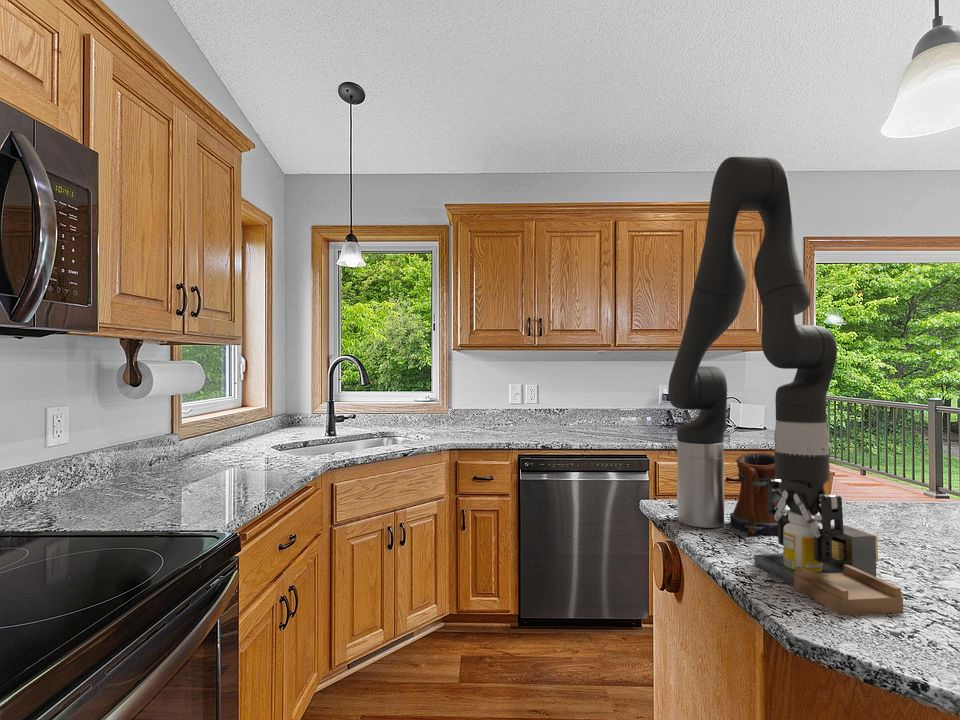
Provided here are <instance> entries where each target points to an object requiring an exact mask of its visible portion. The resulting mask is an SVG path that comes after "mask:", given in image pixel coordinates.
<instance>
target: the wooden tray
mask: <svg viewBox="0 0 960 720" xmlns="http://www.w3.org/2000/svg"><path fill="white" fill-rule="evenodd" d="M793 588H794V590H796V591H797V592H799V593H801V594H802V595H805V596H806V597H808V598H810V599H812V600H813V601H815V602H816V603H818V604H820V605H821V606H823V607H825V608H827V609H829V610H830V611H832V612H834V613H836V614H837V615H838V616H842V617H843V616H857V615H858V616H859V615H874V614H875V615H876V614H878V615H879V614H893V613H894V614H896V613H904V597H903V596H902V594H901V593H902V592H901V591H902V590H901V589H902V588H901V587H899V586H897V585H894V584H893V583H890V582H888V581H886V580H884V579H881V578H879V577H877V576H876V577H875V576H873V575H870V574H868V573H866V572H864V571H861V570H859V569H857V568H855V567H852V566H850V565H843V573H831V574H815V573H813V572H811V571H809V570H807V569H805V568H803V567H796V575H794V586H793Z"/></svg>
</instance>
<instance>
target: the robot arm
mask: <svg viewBox="0 0 960 720" xmlns="http://www.w3.org/2000/svg"><path fill="white" fill-rule="evenodd" d="M790 192H791V191H790V185H789V178H788V175H787V171H786V168H785V166H784V164H783V163H782V162H781V161H780V160H779V159H777V158H773V157H765V156H760V157H758V156H756V157H755V156H729V157H727V158H725V159H724V160H722V162H721V163H720V165H719V166H718V168H717V170H716V173H715V174H714V177H713V182H712V187H711V192H710V198H709V207H708V213H707V215H708V216H707V221H706V229H705V235H704V241H703V247H702V251H701V256H700V260H699V265H698V269H697V273H696V277H695V281H694V284H693V288H692V292H691V297H690V301H689V302H690V303H689V309H688V314H687V318H686V322H685V326H684V331H683V335H682V338H681V342H680V345H679V348H678V352H677V354H676V356H675V360H674V363H673V366H672V368H671V369H672V370H671V373H670V376H669V381H668V386H667V387H668V389H667V392H668V393H667V395H668V401H669V402H670V405H672V407H674V408H675V409H678V410H699V414H698V416H697V417H696V418H694V419H693V420H692V421H690V422H688V423H685V424H683V425H680V426H679V427H678V428H677V431H676V439H677V440H676V441H677V442H676V446H677V447H676V454H677V457H676V459H677V460H676V461H677V471H676V472H677V474H676V495H677V496H676V501H677V502H676V503H677V504H676V509H677V513H676V514H677V515H676V516H677V521H678V522H679V523H681V524H683V525H686V526H690V527H695V528H703V529H705V528H707V529H709V528H710V529H711V528H713V529H715V528H720V527H723V526H725V461H724V458H725V456H724V455H725V454H724V435H725V433H726V432H725V431H726V426H727V407H728V405H727V404H728V403H727V402H728V384H727V379H726V378H727V377H726V376H725V373H724V372H723V370H722V369H721V368H719V367H718V366H704V365H703V366H700V365H701V362H702V360H703V358H704V356H705V354H706V352H708V350H709V348H710V347H711V346H712V345H713V344H714V343H715V341H717V340H718V339H719V338H720V337H721V336H722V335H723V334H724V333H725V332H726V331H727V330H728V329H729V327H731V325H732V324H733V323H734V321H735V320H736V319H737V317H738V315H739V313H740V310H741V305H742V303H743V300H744V299H743V298H744V296H745V292H746V287H747V277H746V273H745V269H744V266H743V264H742V261H741V259H740V258H741V257H740V256H739V253H738V250H737V248H736V243H735V242H736V241H735V230H736V223H737V219H738V216H739V215H738V214H739V211H741V212H744V211H745V212H758V213H759V215H760V218H761V220H762V223H763V228H764V229H763V231H764V232H763V237H762V241H761V244H760V246H759V249H758V252H757V255H756V258H755V261H754V266H753V268H754V269H753V273H754V281H755V285H756V288H757V292H758V296H759V299H760V304H761V306H762V318H761V319H762V321H761V323H762V324H761V348H762V349H761V350H762V352H763V355H764V357H765V359H766V360H767V361H768V362H769V363H770V364H771V365H772V366H773V367H775V368H778V369H783V370H785V369H786V370H787V369H789V370H790V369H791V370H792V369H793V370H795V369H796V372H795V374H794V378H793V381H791V382H789V383H786V384H783V385H780V386H779V387H777V389H776V391H775V428H774V436H773V437H774V439H773V442H774V455H775V476H776V477H777V478H779V479H781V480H779V479H774V480H768V513H769V514H770V515H773V516H774V518H775V520H776V521H777V527H778V535H777V542H778V544H779V545H781V546H783V529H784V526H785V525H786V524H788V523H790V521H789V519H788V512H789V511H791V512H794V513H798V514H799V515H802V516H803V517H804V519H805V521H806V522H807V523H808V524H810V526H811V528H812V530H813V532H814V535H815V536H814V559H815V560H816V561H818V562H820V563H822V562H830V561H831V558H832V538H833V537H835V536H843V534H844V530H843V525H844V515H843V501H842V500H843V498H842V497H841V495H840V494H826V492H825V488H824V485H825V484H826V483H828V482H829V481H830V480H831V479H830V477H831V476H830V475H831V474H830V470H831V469H830V437H829V431H828V430H829V429H828V424H827V394H828V390H829V387H830V385H831V381H832V377H833V372H834V369H835V366H836V363H837V357H838V345H837V341H836V339H835V337H834V335H833V333H832V332H831V331H830V330H829V329H828V328H826V327H824V326H821V325H813V324H812V325H811V324H809V325H808V324H806V325H805V324H801V325H800V324H796V320H795V318H796V317H795V316H797V315H800V314H801V313H803V312H805V311H807V309H808V308H809V307H810V304H811V295H810V292H809V288H808V286H807V282H806V277H805V276H804V272H803V270H802V266H801V264H800V259H799V255H798V250H797V246H796V239H795V229H794V221H793V220H794V218H793V217H794V216H793V210H792V201H791V193H790ZM775 501H778V505H777V507H775ZM816 514H817V515H816ZM815 515H816V516H815ZM832 521H833V525H832ZM819 524H821V527H822V528H821V527H820V525H819ZM832 526H834V528H832Z"/></svg>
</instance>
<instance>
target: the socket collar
mask: <svg viewBox="0 0 960 720" xmlns="http://www.w3.org/2000/svg"><path fill="white" fill-rule="evenodd" d="M753 557H754V559H753V560H754V562H753V563H754V566H755V565H756V566H757V567H759V568H760V569H762V570H764V571H765V572H768V573H769V574H771V575H773V576H775V577H777V578H778V579H780V580H781V581H784V582H785V583H787V584H789V585H791V586H792V587H794V575H796V574H795V573H793V572H791V571H789V570H788V569H786V568H784V565H783V563H784V560H783V553H770V554H767V553H766V554H754V555H753ZM823 572H824V573H817V574H831V573H843V568H842V567H840V566H837V565H835V564H833V563H831V562H823Z"/></svg>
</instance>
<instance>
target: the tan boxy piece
mask: <svg viewBox="0 0 960 720" xmlns="http://www.w3.org/2000/svg"><path fill="white" fill-rule="evenodd" d="M851 527H852V528H855V529H857V530H860V531H863V532H866V533H869V534H871V535H874V536H876V563H878V562H879V537H878V535H876V534H873V533H870V532H868V531H864V530H861V529H858V528H856V527H853V526H851ZM832 558H834V559H836V560H846V541H845V540H842V539H840V538H832Z"/></svg>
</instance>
